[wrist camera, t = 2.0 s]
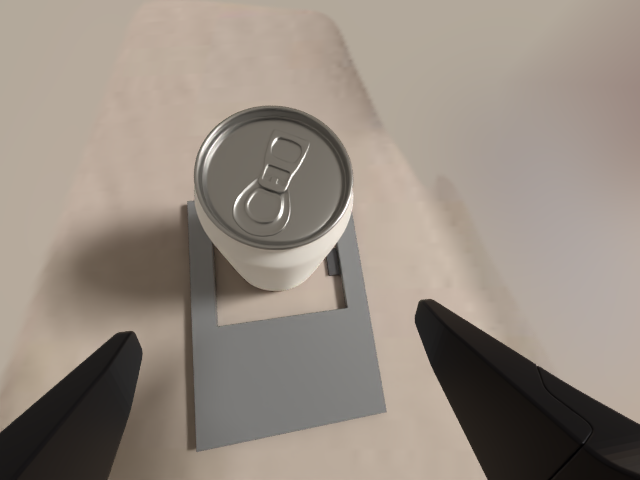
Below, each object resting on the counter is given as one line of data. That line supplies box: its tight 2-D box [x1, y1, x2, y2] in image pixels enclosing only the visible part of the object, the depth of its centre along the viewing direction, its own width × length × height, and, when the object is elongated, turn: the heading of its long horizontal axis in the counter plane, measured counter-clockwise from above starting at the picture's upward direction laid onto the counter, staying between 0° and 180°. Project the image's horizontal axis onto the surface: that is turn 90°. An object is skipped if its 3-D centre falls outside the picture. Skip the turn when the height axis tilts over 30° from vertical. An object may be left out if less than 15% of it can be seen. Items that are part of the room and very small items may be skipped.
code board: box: [187, 201, 387, 452], centre depth 21 cm, size 16×12×1 cm
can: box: [194, 106, 353, 291], centre depth 16 cm, size 6×6×12 cm
